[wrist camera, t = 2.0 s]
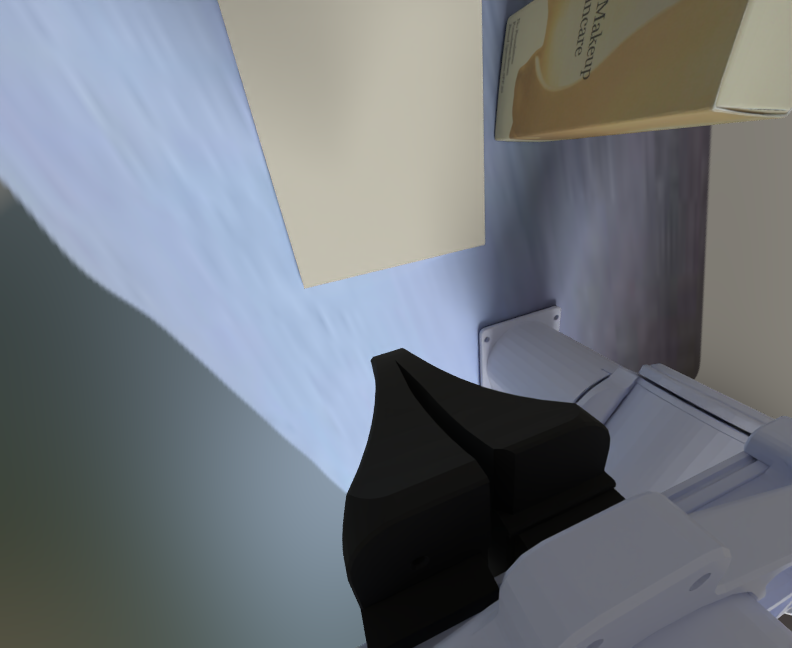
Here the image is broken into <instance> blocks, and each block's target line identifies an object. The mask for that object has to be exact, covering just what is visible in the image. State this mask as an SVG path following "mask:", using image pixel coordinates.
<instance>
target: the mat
mask: <svg viewBox="0 0 792 648" xmlns="http://www.w3.org/2000/svg"><path fill="white" fill-rule="evenodd" d="M218 3H219V7H220V10H221V13H222V17H223V20H224V23H225V27H226V30H227V33H228V37H229V40H230V43H231V46H232V50H233V53H234V56H235V60H236V63H237V66H238V70H239V73H240V76H241V80H242V83H243V86H244V90H245V93H246V96H247V100H248V103H249V106H250V109H251V113H252V116H253V119H254V123H255V126H256V129H257V133H258V136H259V139H260V143H261V146H262V149H263V153H264V156H265V159H266V162H267V166H268V169H269V172H270V176H271V179H272V182H273V186H274V189H275V192H276V196H277V199H278V202H279V206H280V209H281V212H282V215H283V219H284V222H285V225H286V229H287V232H288V235H289V239H290V242H291V245H292V249H293V252H294V255H295V259H296V262H297V265H298V269H299V272H300V275H301V278H302V282H303V285H304V288H309V287H313V286H317V285H321V284H325V283H329V282H334V281H338V280H342V279H346V278H350V277H354V276H358V275H362V274H366V273H370V272H375V271H379V270H383V269H387V268H391V267H395V266H399V265H403V264H407V263H411V262H416V261H420V260H424V259H428V258H432V257H436V256H440V255H444V254H448V253H452V252H457V251H461V250H465V249H469V248H473V247H477V246H481V245H485V206H484V135H483V63H482V0H218Z"/></svg>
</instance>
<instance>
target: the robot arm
mask: <svg viewBox="0 0 792 648" xmlns="http://www.w3.org/2000/svg"><path fill="white" fill-rule="evenodd" d="M560 316H561V308H560V307H557V306H553V307H550V308H546V309H543V310H540V311H537V312H533V313H530V314H527V315H524V316H520V317H517V318H514V319H511V320H507V321H504V322H501V323H498V324H495V325H491V326H488V327H485V328H483V329H482V330H481V331H480V334H479V340H480V378H481V386H480V385H477V384H474V383H471V382H468V381H465V380H463V379H460V378H458V377H456V376H454V375H451V374H449V373H447V372H445V371H443V370H441V369H439V368H437V367H435V366H433V365H431V364H429V363H427V362H426V361H424V360H422V359H421V358H419V357H417V356H415V355H414V354H412V353H410V352H409V351H407V350H405V349H404V348H401V349H397V350H394V351H391V352H388V353H385V354H381V355H378V356H375V357H373V358H372V359H371V364H372V368H373V372H374V377H375V384H376V392H375V406H374V413H373V419H372V425H371V429H370V433H369V437H368V441H367V445H366V448H365V451H364V454H363V457H362V459H361V462H360V465H359V468H358V470H357V473H356V475H355V477H354V479H353V482H352V484H351V486H350V488H349V490H348V493H347V495H346V502H345V510H344V519H343V534H342V541H343V556H344V561H345V566H346V572H347V577H348V581H349V584H350V586H351V588H352V590H353V593H354V595H355V597H356V599H357V602H358V604H359V606H360V608H361V613H362V620H363V625H364V631H365V636H366V643H364V644H362V645H360V646H358V647H357V648H792V632H791V631H790V630H789V629H788V628H787V627H785V625H783V624H782V623H781V622H780V621H779V620H778V618H779V617H780V616H782V615H783V614H784V613H785V614H789V615H792V418H790V417H788V416H781V417H779V418H777V419H773V418H771V417H769V416H767V415H765V414H763V413H761V412H759V411H757V410H755V409H753V408H751V407H749V406H747V405H744V404H742V403H740V402H738V401H736V400H734V399H732V398H730V397H728V396H726V395H724V394H722V393H720V392H718V391H716V390H714V389H712V388H710V387H708V386H705V385H704V384H702V383H699V382H697V381H695V380H693V379H691V378H689V377H687V376H685V375H683V374H681V373H679V372H677V371H675V370H673V369H671V368H669V367H667V366H665V365H663V364H653V365H651V366H649V365H643V366H642V368H641V370H640V371H639V373H641V374H642V375H640V374H638V373H636V372H633V371H631V370H629V369H626V368H624V367H622V366H620V365H619V364H617V363H615V362H613V361H611V360H610V359H608V358H606V357H604V356H602V355H601V354H599V353H597V352H595V351H593V350H591V349H590V348H588V347H586V346H584V345H582V344H581V343H579V342H577V341H575V340H573V339H572V338H570V337H568V336H566V335H564V334H562V333H561V332H559V325H560ZM486 337H487V339H486V340H484V339H485V338H486ZM643 375H644V376H643Z"/></svg>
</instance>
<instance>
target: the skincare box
mask: <svg viewBox="0 0 792 648" xmlns="http://www.w3.org/2000/svg"><path fill="white" fill-rule="evenodd" d="M791 110H792V0H534V1H532V2H531V3H529V4H528V5H526V6H525V7H523V8H522V9H521V10H519V11H518V12H516V13H514V14H513V15H511V16H510V17H509V18H508V21H507V27H506V35H505V42H504V50H503V58H502V67H501V75H500V85H499V95H498V106H497V118H496V129H495V140H496V141H514V142H547V141H557V140H568V139H578V138H587V137H595V136H606V135H616V134H627V133H636V132H645V131H655V130H665V129H675V128H685V127H695V126H705V125H715V124H724V123H733V122H745V121H755V120H765V119H776V118H784V117H786V116H787V115H788V114H789V113H790V112H791Z"/></svg>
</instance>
